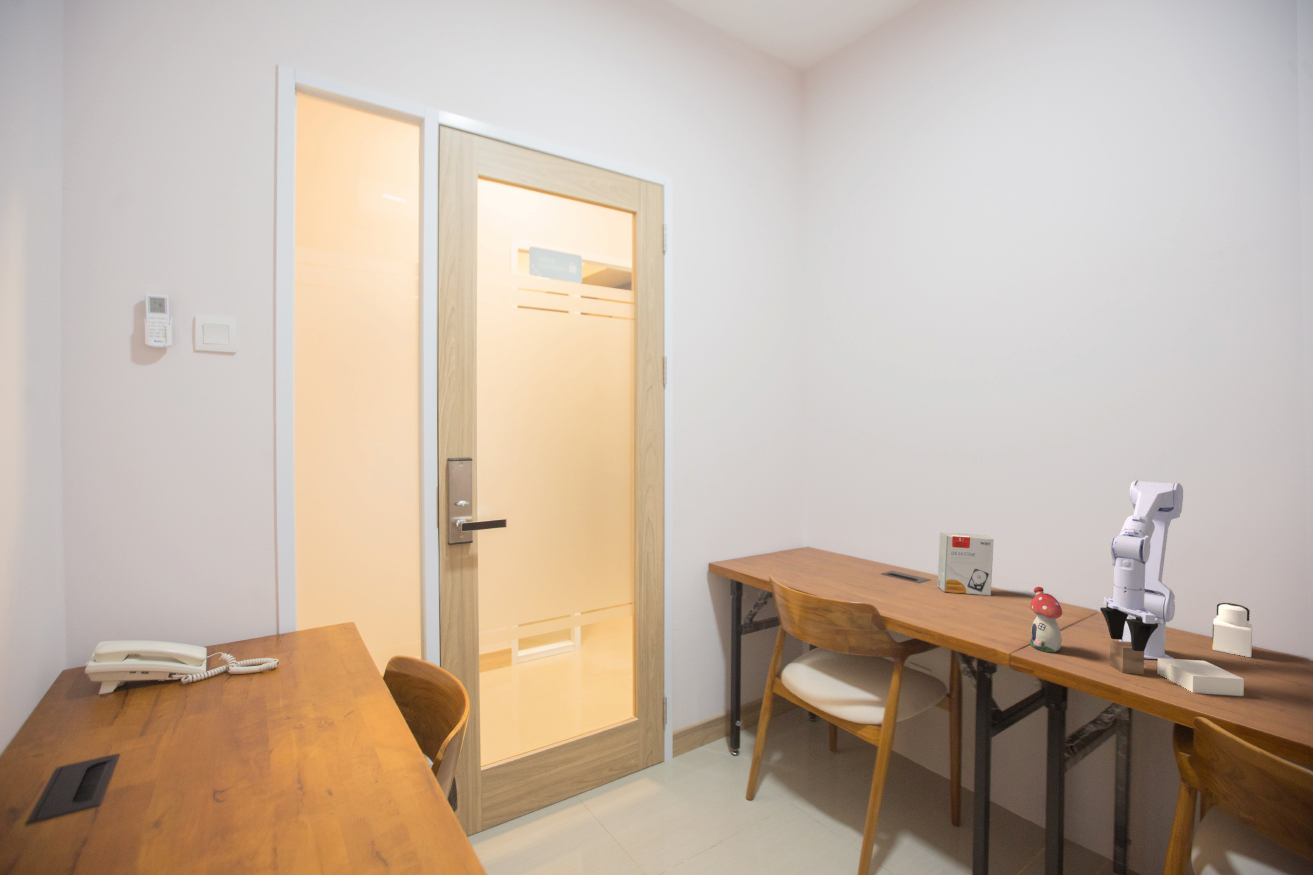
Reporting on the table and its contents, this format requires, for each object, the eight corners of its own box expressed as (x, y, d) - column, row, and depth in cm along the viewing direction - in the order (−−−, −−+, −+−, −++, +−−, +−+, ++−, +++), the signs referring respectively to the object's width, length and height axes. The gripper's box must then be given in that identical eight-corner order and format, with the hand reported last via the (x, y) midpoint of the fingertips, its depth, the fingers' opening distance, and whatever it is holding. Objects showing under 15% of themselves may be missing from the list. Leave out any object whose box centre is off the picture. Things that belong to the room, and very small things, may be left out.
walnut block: (1109, 665, 139) (1110, 640, 139) (1130, 666, 138) (1130, 641, 138) (1122, 672, 134) (1123, 647, 134) (1143, 674, 134) (1144, 648, 134)
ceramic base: (1157, 675, 134) (1157, 657, 134) (1203, 677, 133) (1204, 660, 133) (1192, 694, 125) (1193, 675, 125) (1243, 697, 124) (1243, 678, 124)
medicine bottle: (1213, 643, 156) (1214, 599, 156) (1251, 651, 151) (1252, 605, 150) (1212, 650, 151) (1213, 604, 151) (1251, 658, 146) (1252, 610, 145)
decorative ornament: (1026, 639, 155) (1027, 583, 155) (1055, 643, 153) (1056, 586, 153) (1034, 651, 147) (1036, 592, 146) (1065, 655, 144) (1067, 595, 144)
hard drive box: (943, 592, 201) (945, 535, 201) (936, 587, 208) (938, 531, 208) (992, 595, 198) (994, 537, 198) (983, 590, 206) (985, 534, 206)
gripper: (1091, 578, 144) (1089, 632, 144) (1131, 594, 129) (1129, 654, 130) (1122, 580, 143) (1120, 634, 143) (1166, 596, 129) (1164, 657, 129)
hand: (1126, 644), depth 136 cm, fingers open, 7 cm apart
